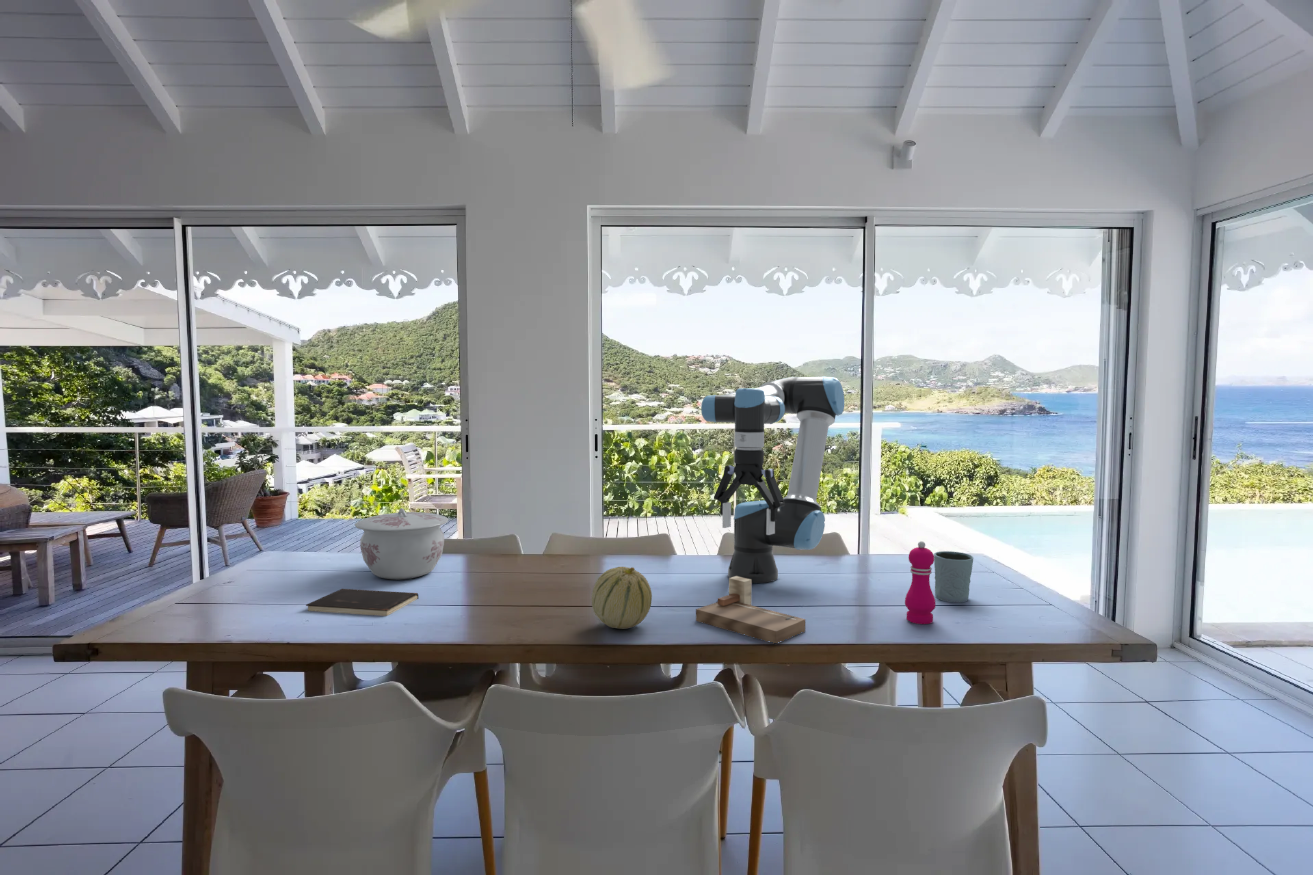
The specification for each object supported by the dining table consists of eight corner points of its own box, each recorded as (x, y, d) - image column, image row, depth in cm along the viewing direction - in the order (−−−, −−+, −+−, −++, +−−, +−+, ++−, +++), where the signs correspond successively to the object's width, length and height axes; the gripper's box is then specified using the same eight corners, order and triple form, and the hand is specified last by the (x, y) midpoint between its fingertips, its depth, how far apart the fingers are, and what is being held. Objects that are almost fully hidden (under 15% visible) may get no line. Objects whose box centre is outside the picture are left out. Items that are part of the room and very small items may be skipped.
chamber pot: (411, 590, 213) (409, 518, 212) (335, 581, 223) (333, 512, 221) (468, 567, 240) (467, 503, 238) (398, 560, 249) (396, 498, 248)
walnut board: (696, 620, 186) (696, 608, 186) (726, 610, 194) (726, 598, 194) (776, 644, 169) (776, 630, 169) (805, 631, 178) (805, 618, 178)
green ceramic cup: (942, 590, 213) (943, 549, 212) (978, 598, 206) (979, 555, 205) (926, 597, 206) (927, 555, 205) (962, 605, 199) (964, 561, 198)
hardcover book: (387, 618, 189) (386, 609, 189) (306, 613, 194) (305, 604, 194) (418, 600, 205) (418, 592, 205) (343, 596, 209) (343, 587, 209)
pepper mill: (899, 616, 190) (901, 538, 188) (927, 615, 190) (929, 538, 189) (911, 625, 182) (913, 544, 181) (940, 624, 183) (942, 544, 182)
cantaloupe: (597, 616, 189) (597, 558, 188) (654, 618, 188) (654, 559, 187) (585, 636, 175) (585, 573, 174) (648, 638, 173) (648, 574, 172)
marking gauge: (712, 613, 190) (713, 583, 189) (739, 604, 198) (739, 574, 197) (728, 618, 186) (728, 586, 186) (754, 608, 194) (755, 578, 194)
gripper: (701, 446, 196) (700, 526, 198) (783, 452, 180) (782, 539, 181) (718, 445, 202) (717, 522, 203) (799, 450, 186) (798, 534, 187)
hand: (748, 530), depth 192 cm, fingers open, 13 cm apart
